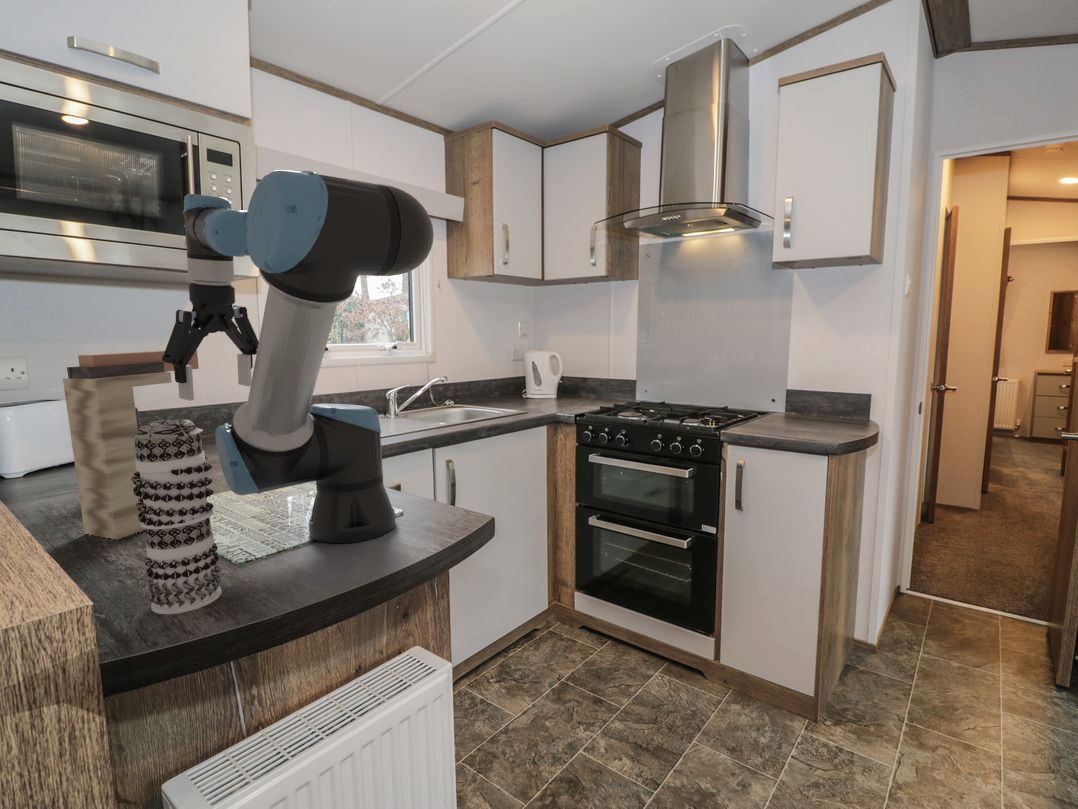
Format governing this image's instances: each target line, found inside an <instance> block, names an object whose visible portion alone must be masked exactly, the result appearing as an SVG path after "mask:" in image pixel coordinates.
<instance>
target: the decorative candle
mask: <svg viewBox="0 0 1078 809" xmlns="http://www.w3.org/2000/svg"><path fill="white" fill-rule="evenodd" d="M203 431H204V429H202V428H198V427H197V426H196V425H195V423H194V422H193V421H192V420H189V419H186V418H185V419H184V418H178V419H177V418H176V419H162V420H155V421H150V422H147V423H144V424H141V425H140V429H139V430H138V432H137V434H136V435H134V436H132V437H131V439H134V441H135V449H136V456H137V458H136V459H135V462H136V470H137V472H135V473H134V474H133V477H132V478H131V480H132V481H133V483H134V484H135V485H136V487H134V488H133V491H134V495H135V496H138V497H140V499H139V500H138V502H137V504H136V506H137V507H138V510H139V511H141V512H140V513H139V514H138V517H139V521H140V522H141V527H143V528H146V530H145V535H146V542H147V543H146V545H145V546H146V555H147V556H146V557H145V558H144V565H145V566H147V567H148V568H147V569H146V570H145V572H146V577H147V578H149V579H148V581H147V583H146V586H147V590H148V591H149V593H148V598H149V602H151V604H150V607H151V611H152V612H154V613H155V614H158V615H176V614H183V613H188V612H191V611H195V610H199V609H200V608H203V607H205V606H208V605H210V604H212V603H213V602H215V601H216V600H218V599H219V598H220V596H221V595H222V593H223V591H222V588H221V585H220V584H221V583H222V579H221V576H220V572H221V569H220V566H219V565H218V564H217V563H218V561H219V559H220V558H219V556H218V553H216V552H217V551H218V549H219V547H218V545H217V543H216V542H215V538H214V533H213V531H212V526H211V524H212V523H211V520H210V518H211V516H213V514H214V510H213V508H214V507H215V506H214V504H213V503H211V502H209V501H208V497H210V496H211V495H213V494H214V490H212V489H210V488H208V486H209V485H211V484H212V482H213V479H212V478H209V477H208V476H207V475H205V473H206V472H208V471H210V470H212V467H213V466H212V465H211V464H209V463H207V462H206V461H207V460H208V459H209V458H208V456H205V454H206V453H205V451H204V450H203V442H202V440H203V439H202V438H201V437H202V436H201V435H202V433H201V432H203ZM205 476H206V477H205ZM140 489H142V491H141V490H140ZM144 514H145V515H144Z"/></svg>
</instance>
